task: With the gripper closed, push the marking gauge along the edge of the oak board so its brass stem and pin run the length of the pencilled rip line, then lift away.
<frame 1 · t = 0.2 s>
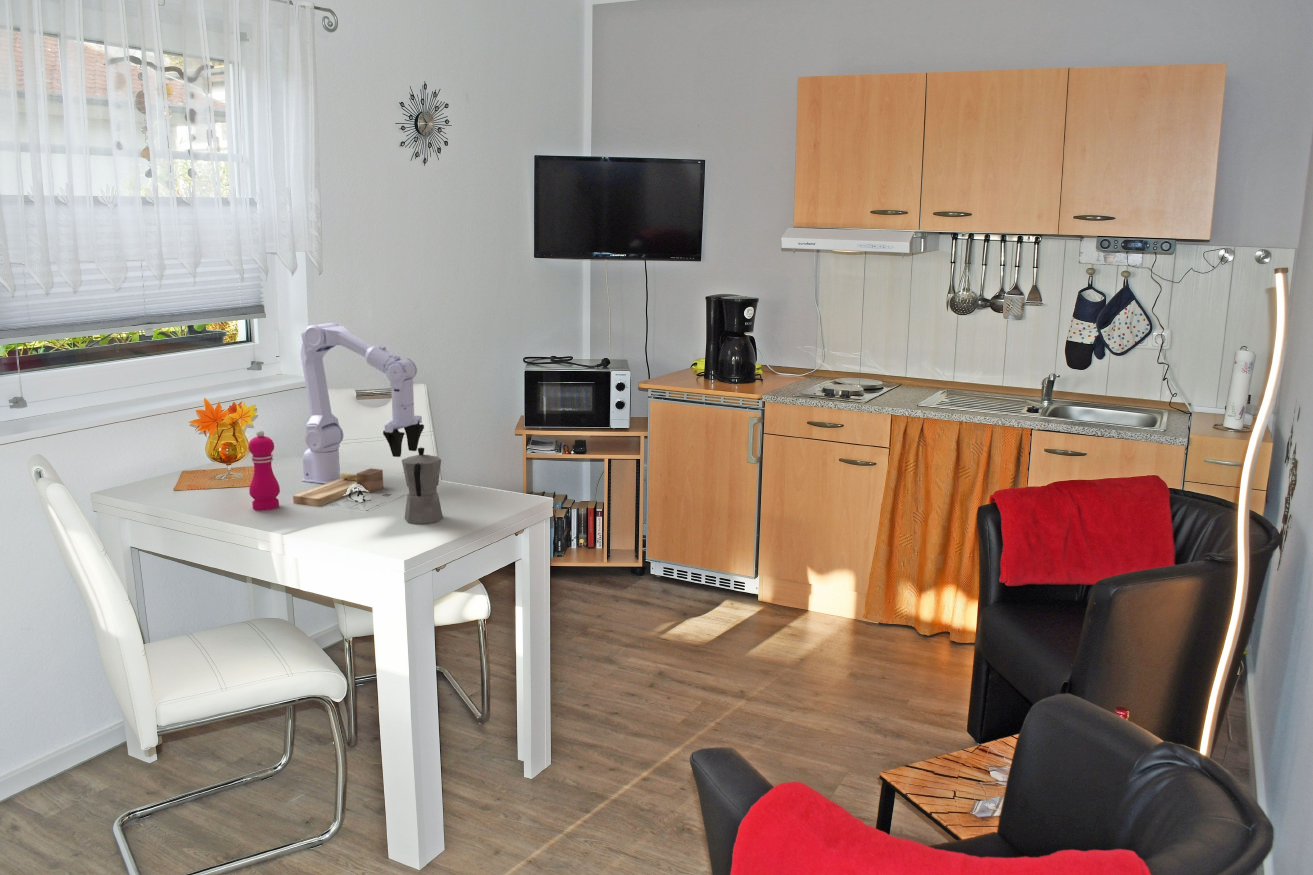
hand: (404, 453, 266), 10 cm above the table, fingers open, 7 cm apart
coffeepot: (423, 521, 239), on the table
board: (332, 494, 261), on the table
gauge: (359, 479, 267), point 3 cm above the table, slide at 0.0 cm
pepper mill: (265, 508, 249), on the table
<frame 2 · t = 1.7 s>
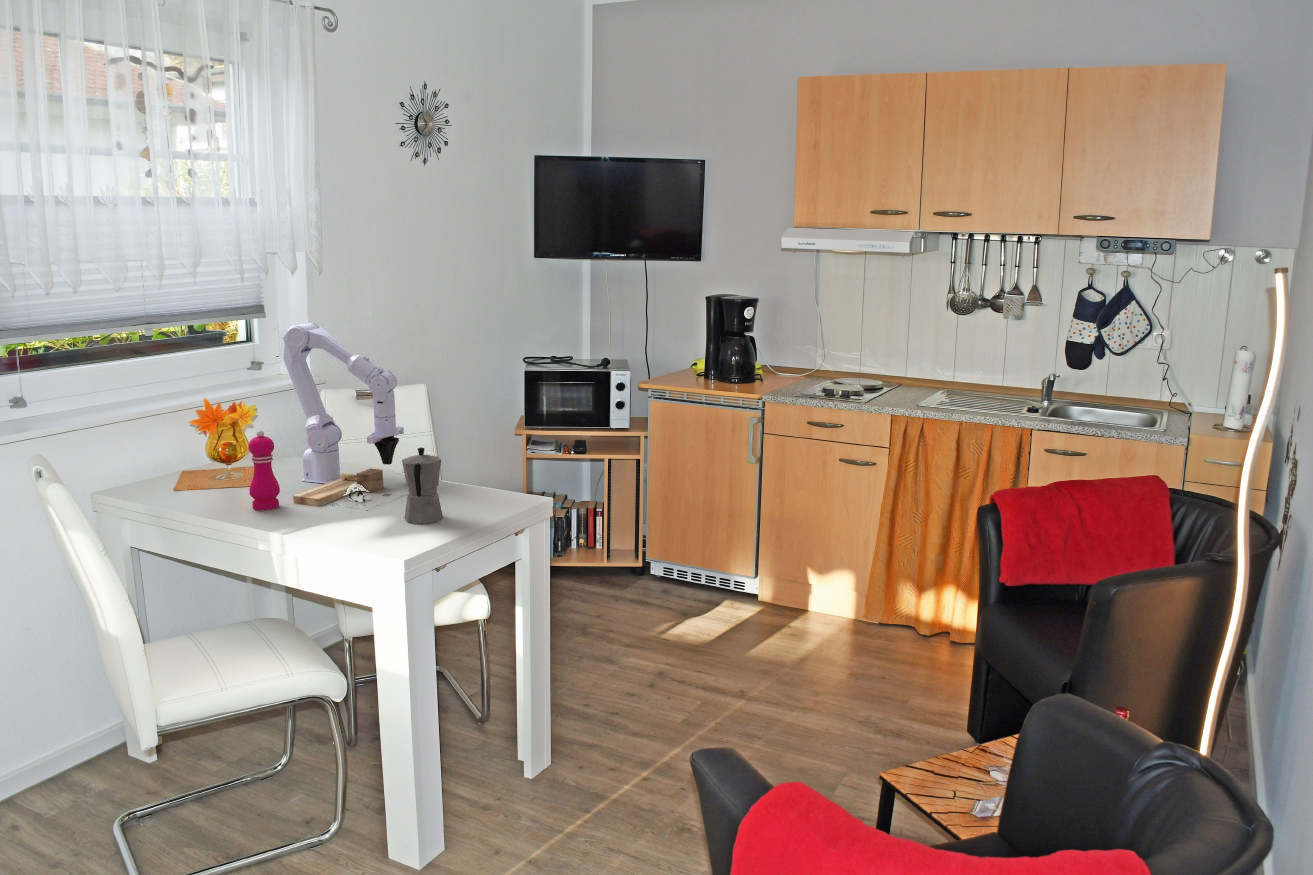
hand: (387, 463, 272), 5 cm above the table, fingers closed
nothing on the table moved.
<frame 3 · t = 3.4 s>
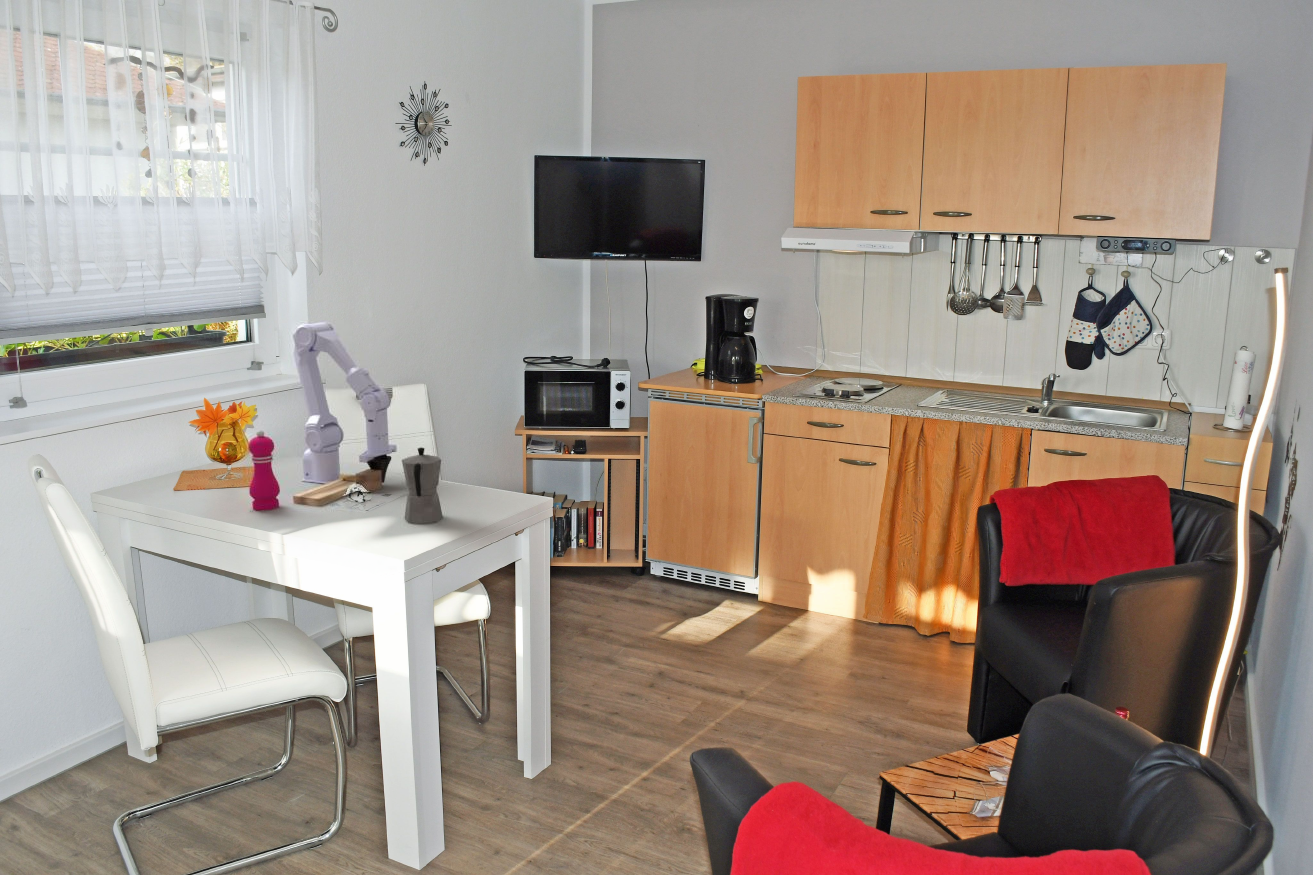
hand: (379, 482, 270), 1 cm above the table, fingers closed
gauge: (357, 479, 266), point 3 cm above the table, slide at 0.6 cm, touching gripper
everything else where it was.
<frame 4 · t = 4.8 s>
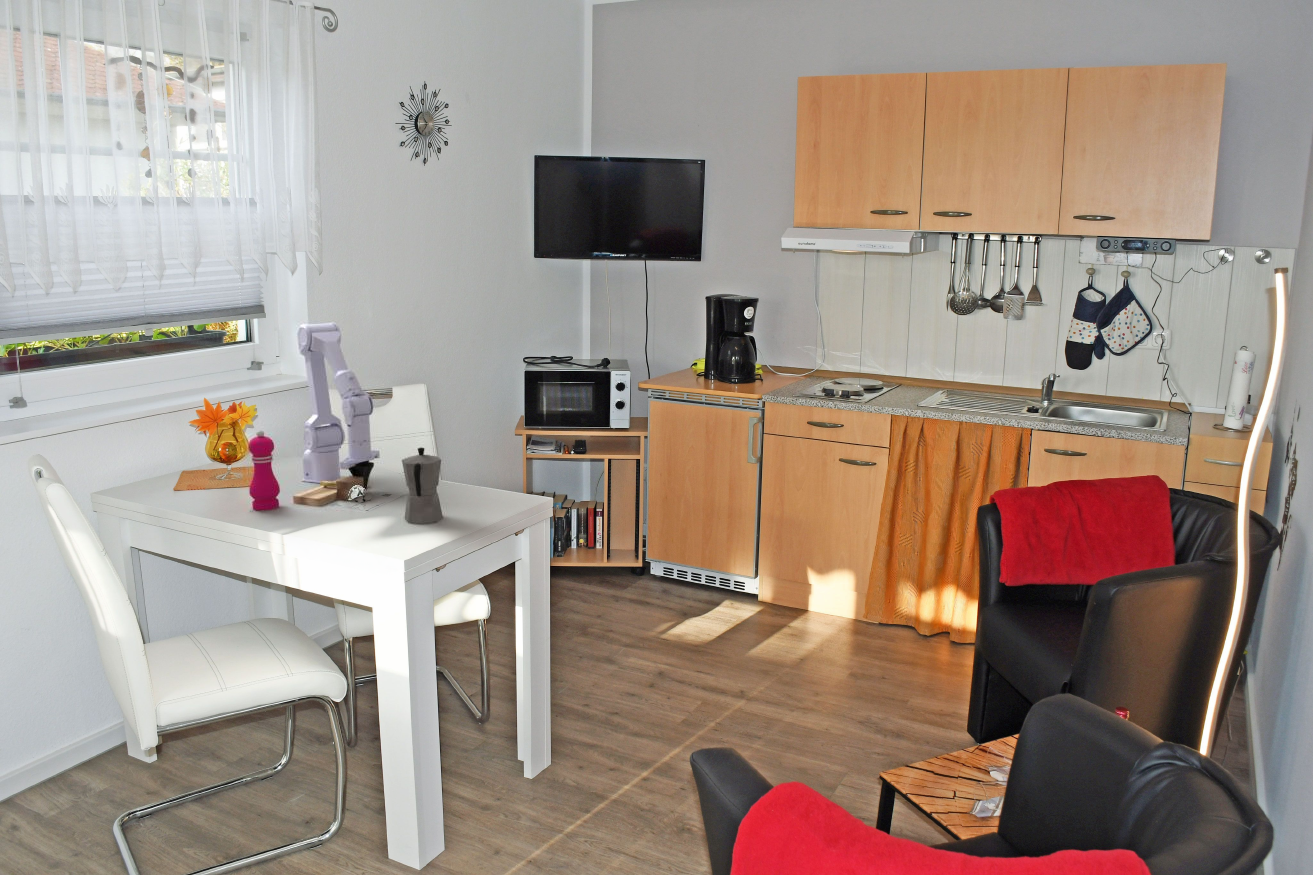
hand: (361, 489, 262), 1 cm above the table, fingers closed
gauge: (339, 486, 259), point 3 cm above the table, slide at 8.7 cm, touching gripper
everything else where it was.
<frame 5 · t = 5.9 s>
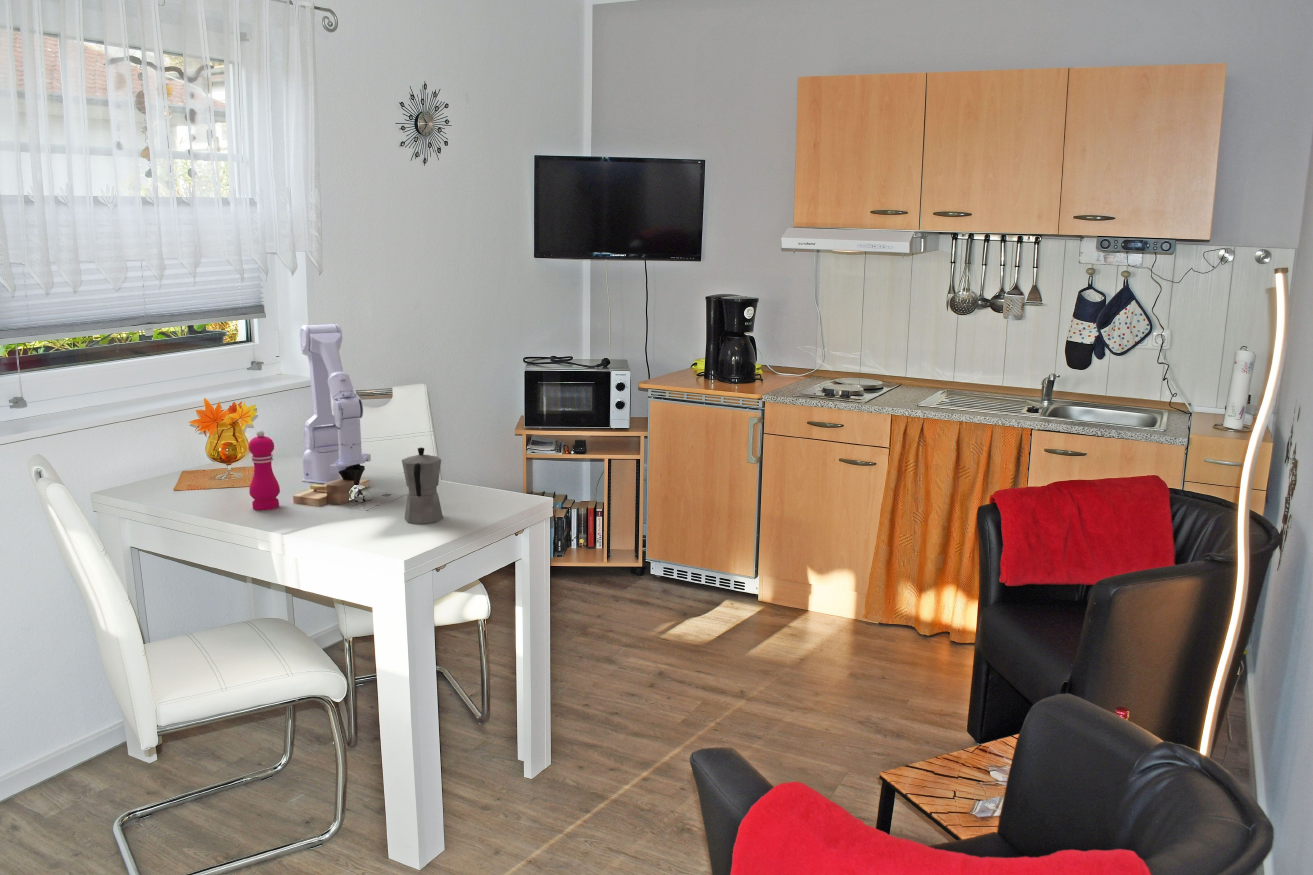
hand: (352, 493, 259), 1 cm above the table, fingers closed
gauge: (329, 490, 255), point 3 cm above the table, slide at 12.7 cm, touching gripper
everything else where it was.
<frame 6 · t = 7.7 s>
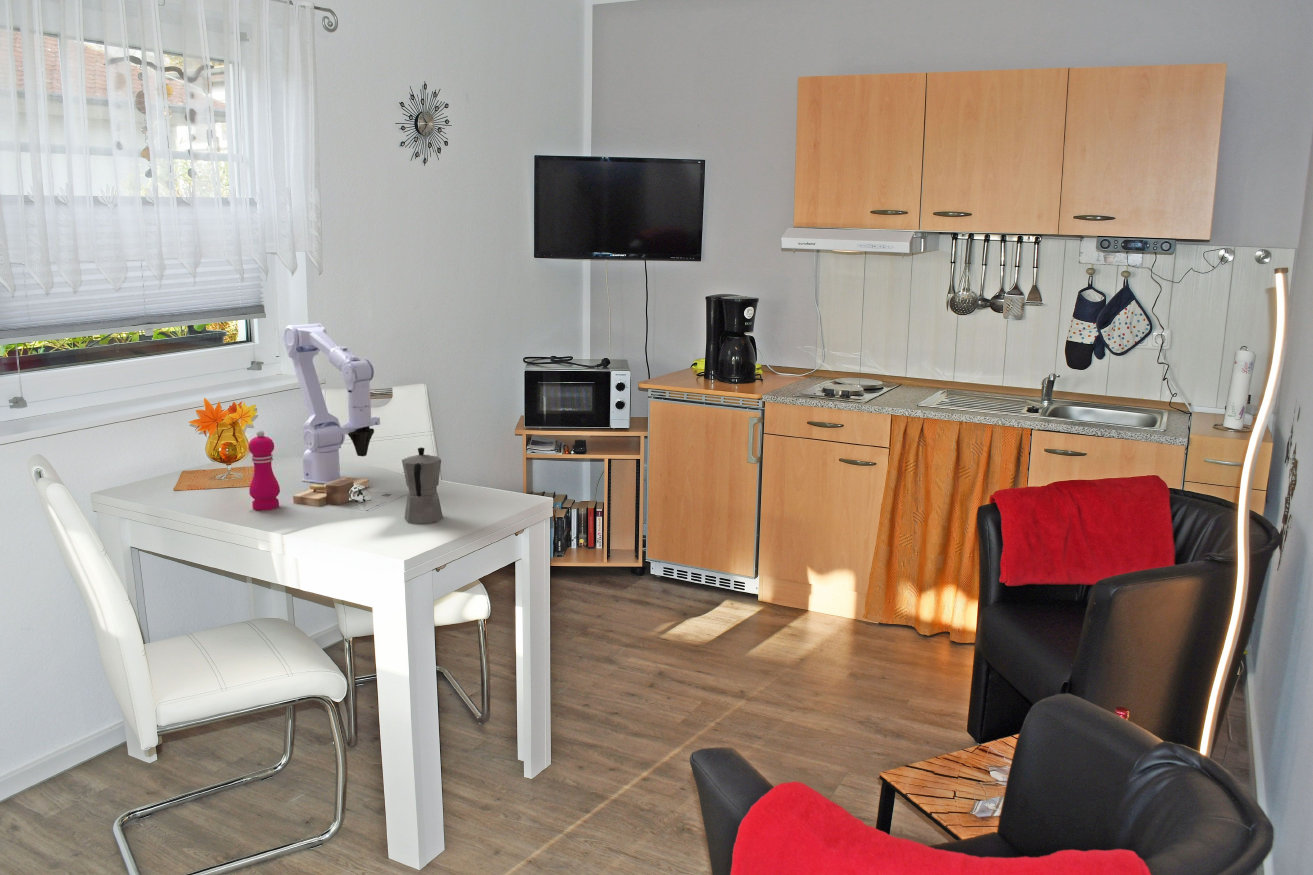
hand: (361, 455, 263), 10 cm above the table, fingers closed
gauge: (329, 490, 255), point 3 cm above the table, slide at 12.8 cm
everything else where it was.
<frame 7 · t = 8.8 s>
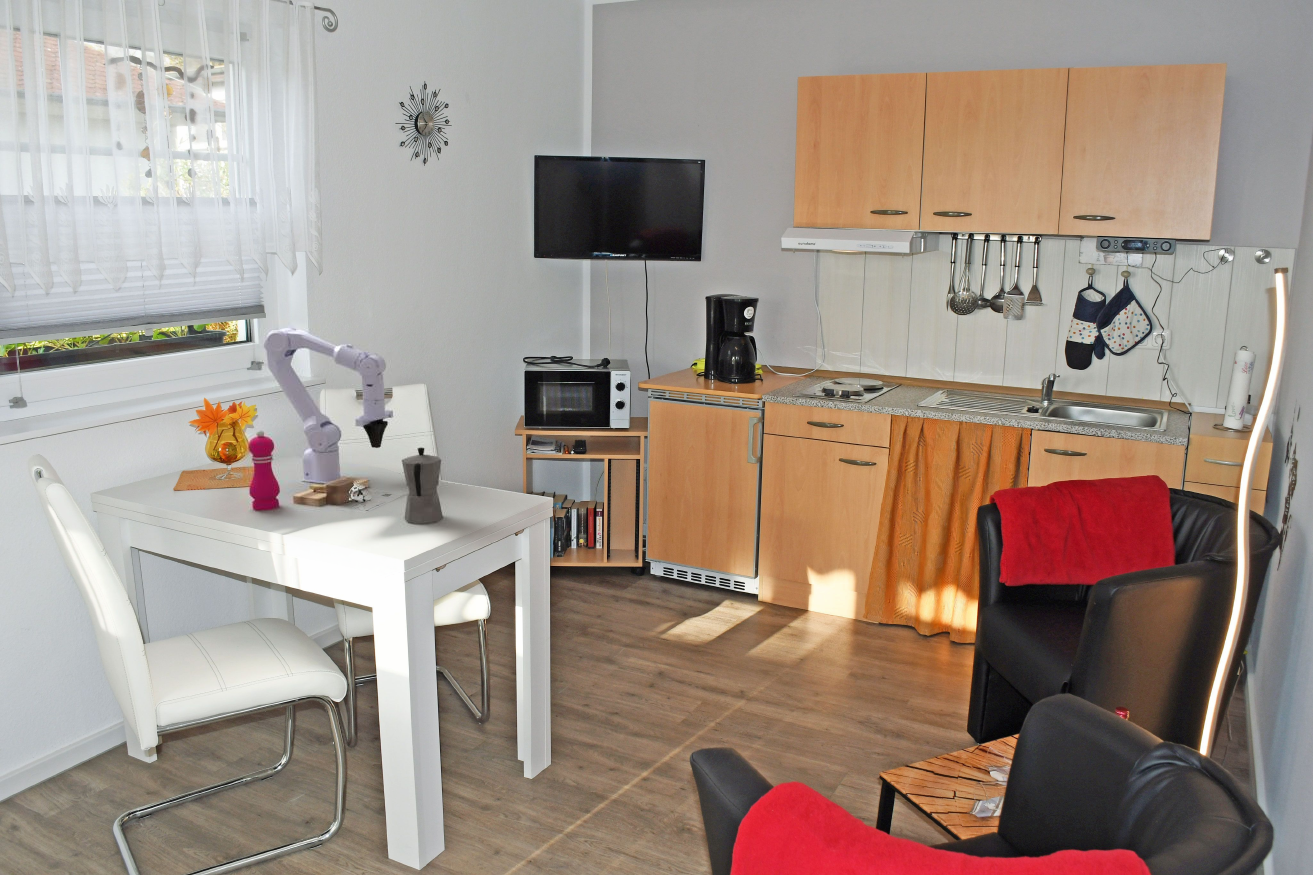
hand: (376, 447, 272), 10 cm above the table, fingers closed
nothing on the table moved.
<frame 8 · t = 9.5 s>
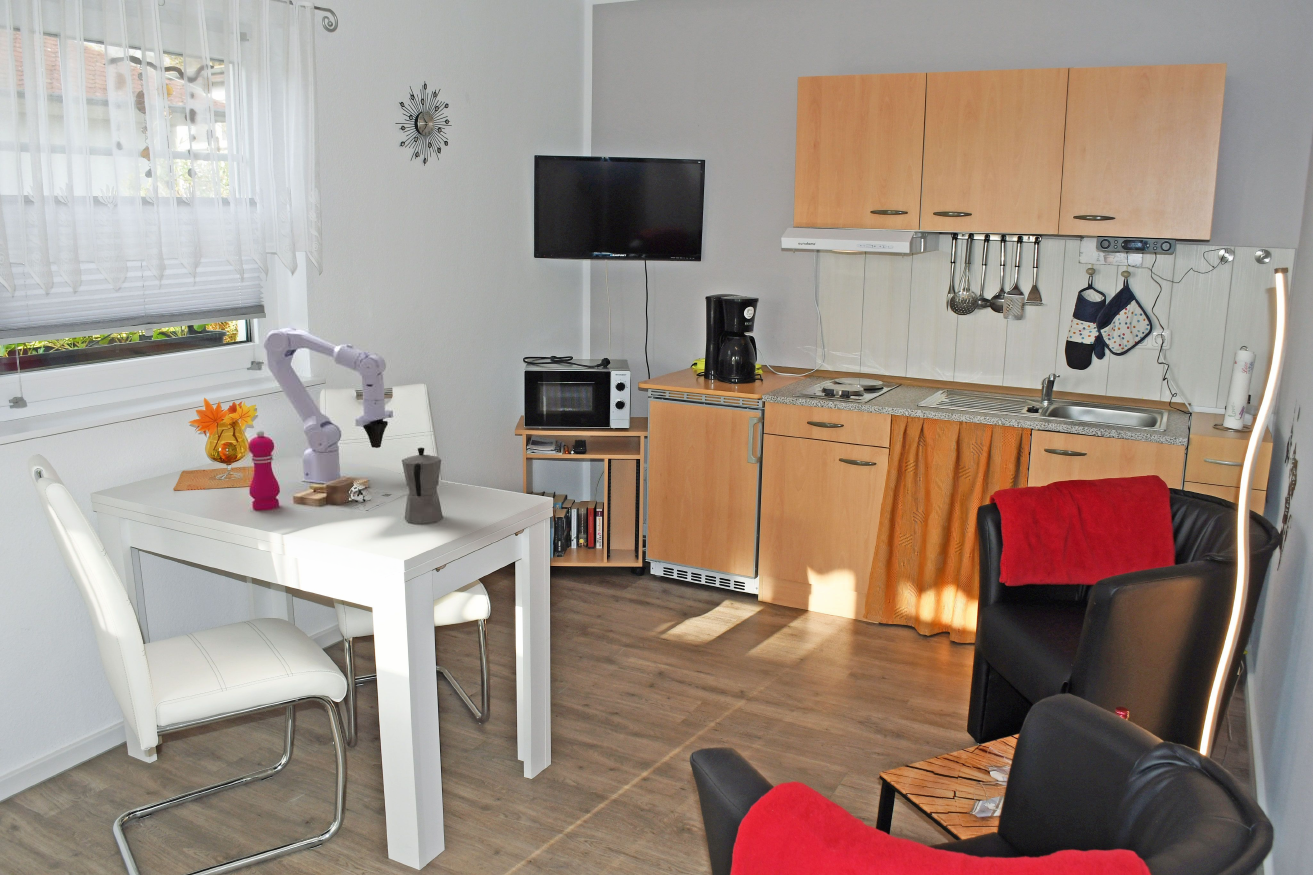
hand: (376, 447, 272), 10 cm above the table, fingers closed
nothing on the table moved.
at the end: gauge slide at 12.8 cm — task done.
